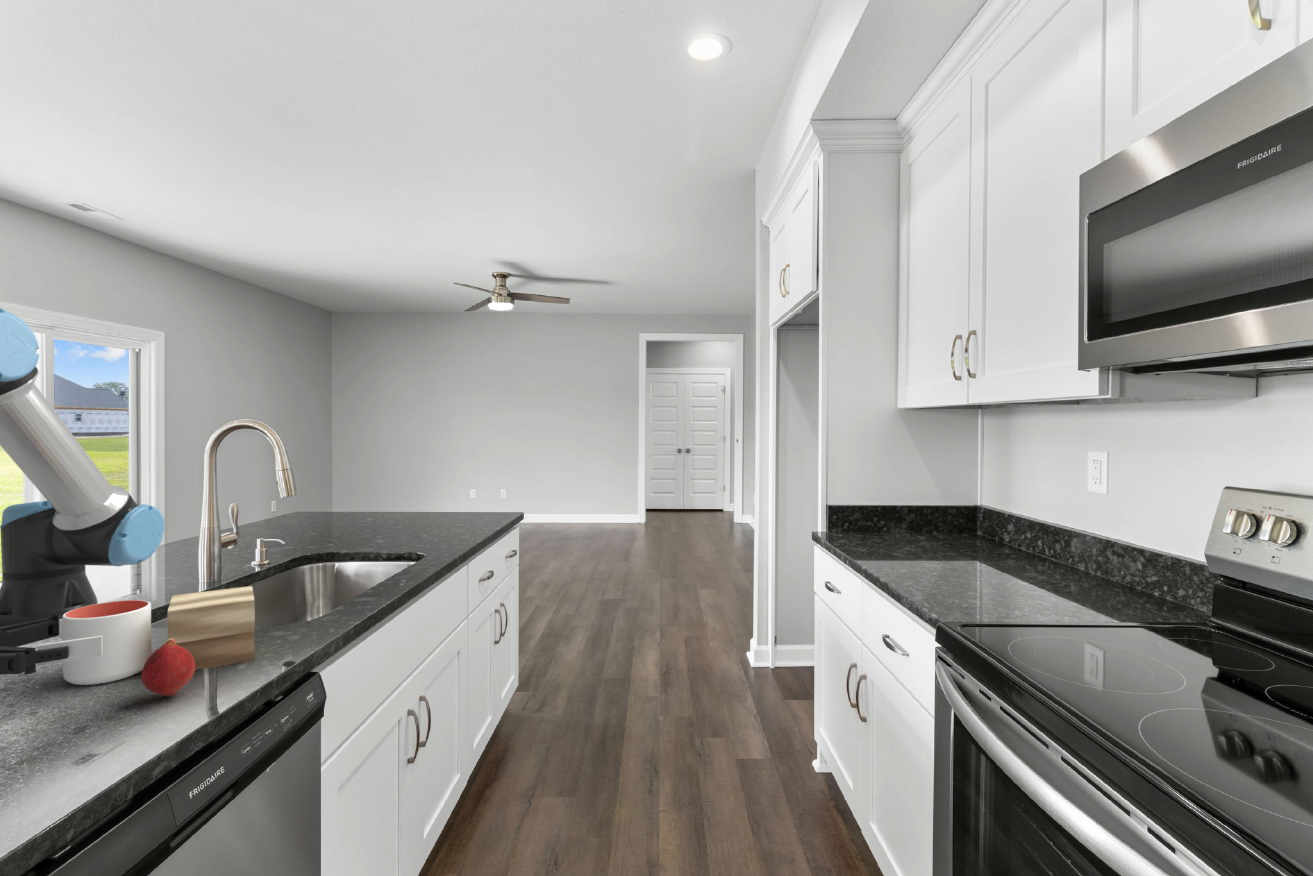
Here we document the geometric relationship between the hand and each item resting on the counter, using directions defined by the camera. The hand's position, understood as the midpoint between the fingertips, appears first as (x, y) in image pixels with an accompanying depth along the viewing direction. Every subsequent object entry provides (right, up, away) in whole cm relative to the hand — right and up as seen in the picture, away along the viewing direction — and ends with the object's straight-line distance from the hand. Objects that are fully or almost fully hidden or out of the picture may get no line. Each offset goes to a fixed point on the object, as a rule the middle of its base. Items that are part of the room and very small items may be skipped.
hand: (109, 632), depth 93 cm
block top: (+10, -2, +8) cm, 13 cm away
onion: (+15, -7, -7) cm, 18 cm away
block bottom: (+10, -7, +8) cm, 14 cm away
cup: (-1, -7, 0) cm, 7 cm away
